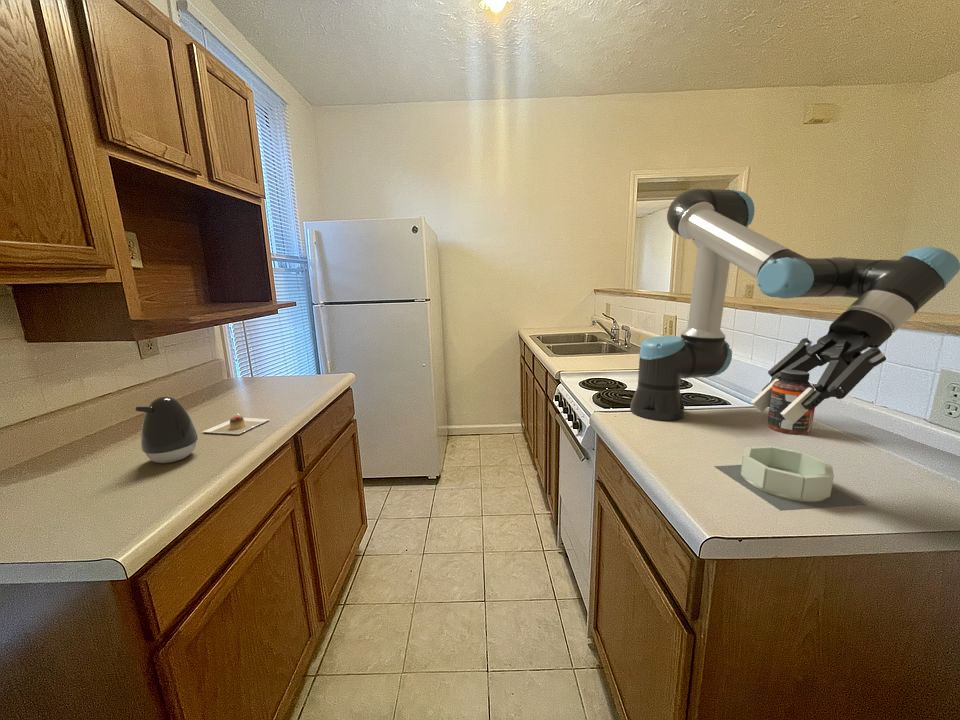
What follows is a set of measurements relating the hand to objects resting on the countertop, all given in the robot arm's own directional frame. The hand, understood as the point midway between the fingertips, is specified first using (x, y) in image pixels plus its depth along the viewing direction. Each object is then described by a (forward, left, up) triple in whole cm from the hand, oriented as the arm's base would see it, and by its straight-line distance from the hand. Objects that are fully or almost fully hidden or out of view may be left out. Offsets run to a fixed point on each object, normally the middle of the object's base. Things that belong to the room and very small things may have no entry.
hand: (770, 412), depth 68 cm
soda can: (-26, +32, -15) cm, 44 cm away
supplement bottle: (0, +4, -4) cm, 5 cm away
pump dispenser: (-27, -126, -15) cm, 129 cm away
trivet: (0, +4, -15) cm, 16 cm away
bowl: (0, +4, -14) cm, 15 cm away
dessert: (-47, -122, -16) cm, 132 cm away
